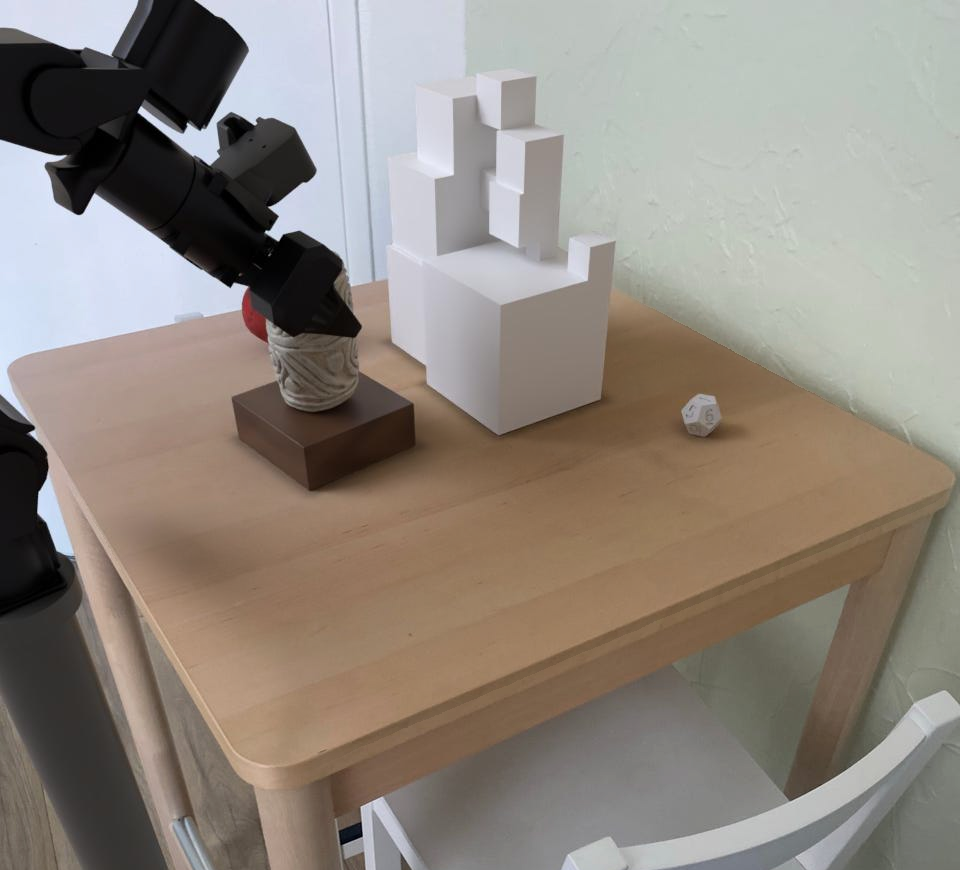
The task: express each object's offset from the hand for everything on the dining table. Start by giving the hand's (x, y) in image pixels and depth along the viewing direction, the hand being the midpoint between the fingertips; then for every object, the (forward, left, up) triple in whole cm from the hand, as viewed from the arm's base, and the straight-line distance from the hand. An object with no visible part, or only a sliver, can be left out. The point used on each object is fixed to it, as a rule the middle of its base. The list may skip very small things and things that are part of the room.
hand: (328, 311), depth 76 cm
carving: (-2, 0, -7) cm, 8 cm away
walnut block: (-1, 0, -11) cm, 11 cm away
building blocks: (+18, +1, -11) cm, 21 cm away
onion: (+6, +19, -11) cm, 23 cm away
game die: (+25, -20, -11) cm, 34 cm away
